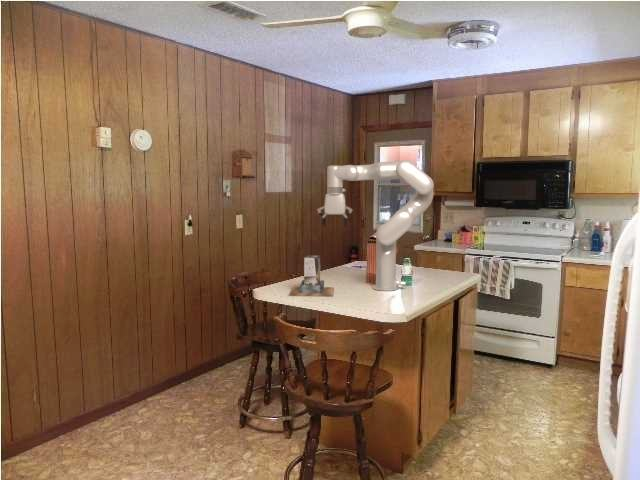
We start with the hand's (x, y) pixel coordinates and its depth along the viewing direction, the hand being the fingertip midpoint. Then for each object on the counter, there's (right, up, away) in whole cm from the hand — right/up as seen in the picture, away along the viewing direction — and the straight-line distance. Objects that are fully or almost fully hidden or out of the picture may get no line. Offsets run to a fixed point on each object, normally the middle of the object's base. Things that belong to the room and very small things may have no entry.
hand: (334, 226), depth 242 cm
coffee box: (-11, -31, -10) cm, 34 cm away
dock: (-11, -32, -10) cm, 35 cm away
